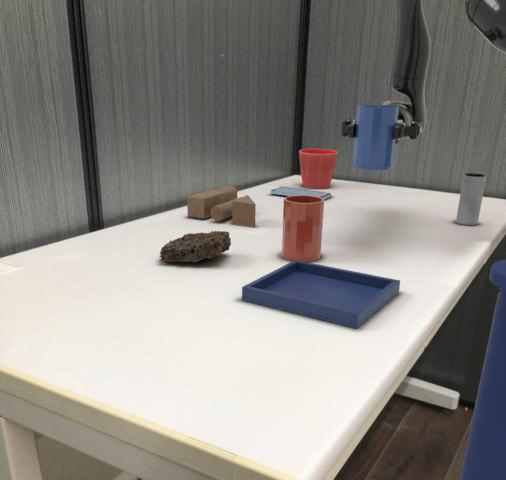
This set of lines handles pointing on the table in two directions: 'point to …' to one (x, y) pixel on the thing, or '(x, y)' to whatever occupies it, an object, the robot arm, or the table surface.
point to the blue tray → (322, 292)
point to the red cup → (302, 228)
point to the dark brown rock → (196, 247)
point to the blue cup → (375, 137)
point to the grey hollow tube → (470, 198)
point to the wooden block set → (222, 206)
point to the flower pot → (317, 167)
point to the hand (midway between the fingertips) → (373, 132)
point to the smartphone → (299, 192)
